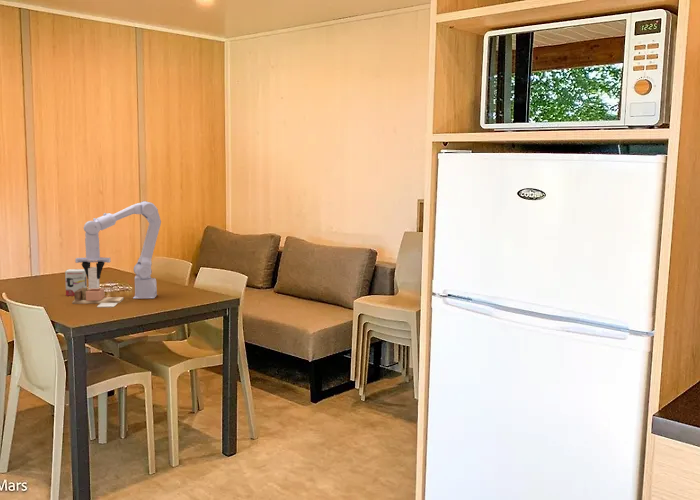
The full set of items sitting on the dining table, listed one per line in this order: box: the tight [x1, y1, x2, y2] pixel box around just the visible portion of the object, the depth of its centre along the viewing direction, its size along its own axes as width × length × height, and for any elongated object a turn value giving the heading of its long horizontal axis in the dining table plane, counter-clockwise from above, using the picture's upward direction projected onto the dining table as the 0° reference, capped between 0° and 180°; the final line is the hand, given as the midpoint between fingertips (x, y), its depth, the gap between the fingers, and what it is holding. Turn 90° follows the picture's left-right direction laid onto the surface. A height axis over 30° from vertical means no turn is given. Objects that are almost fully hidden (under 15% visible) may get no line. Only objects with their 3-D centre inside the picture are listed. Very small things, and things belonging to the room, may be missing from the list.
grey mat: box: [96, 303, 119, 308], centre depth 286 cm, size 7×7×1 cm
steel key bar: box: [87, 266, 100, 290], centre depth 292 cm, size 4×4×9 cm
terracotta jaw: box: [86, 287, 106, 301], centre depth 293 cm, size 6×8×4 cm
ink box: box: [64, 268, 88, 297], centre depth 307 cm, size 9×5×12 cm, turn 101°
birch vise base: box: [71, 287, 125, 305], centre depth 294 cm, size 20×8×6 cm, turn 96°
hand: (93, 278), depth 292 cm, fingers closed on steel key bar, 4 cm apart
